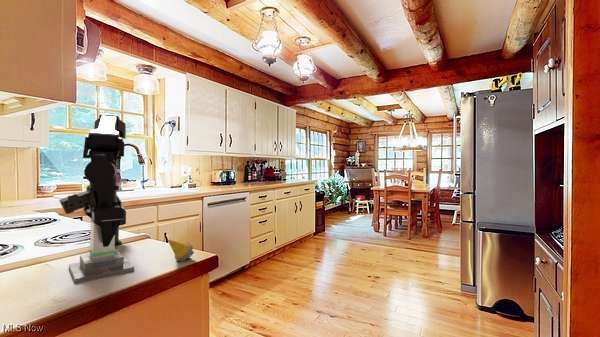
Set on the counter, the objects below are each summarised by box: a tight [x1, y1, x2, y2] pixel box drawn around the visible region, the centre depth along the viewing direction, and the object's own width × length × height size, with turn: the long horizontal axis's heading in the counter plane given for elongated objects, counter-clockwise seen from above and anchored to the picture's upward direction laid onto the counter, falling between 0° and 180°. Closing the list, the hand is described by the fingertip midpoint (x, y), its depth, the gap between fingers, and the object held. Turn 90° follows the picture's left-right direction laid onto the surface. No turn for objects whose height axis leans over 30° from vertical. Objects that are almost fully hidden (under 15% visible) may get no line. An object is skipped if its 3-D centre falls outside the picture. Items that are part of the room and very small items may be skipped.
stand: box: [68, 248, 135, 284], centre depth 74 cm, size 12×12×4 cm
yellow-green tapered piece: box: [167, 239, 195, 262], centre depth 82 cm, size 5×5×10 cm
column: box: [89, 220, 116, 260], centre depth 74 cm, size 5×5×9 cm
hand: (102, 242), depth 74 cm, fingers open, 9 cm apart
